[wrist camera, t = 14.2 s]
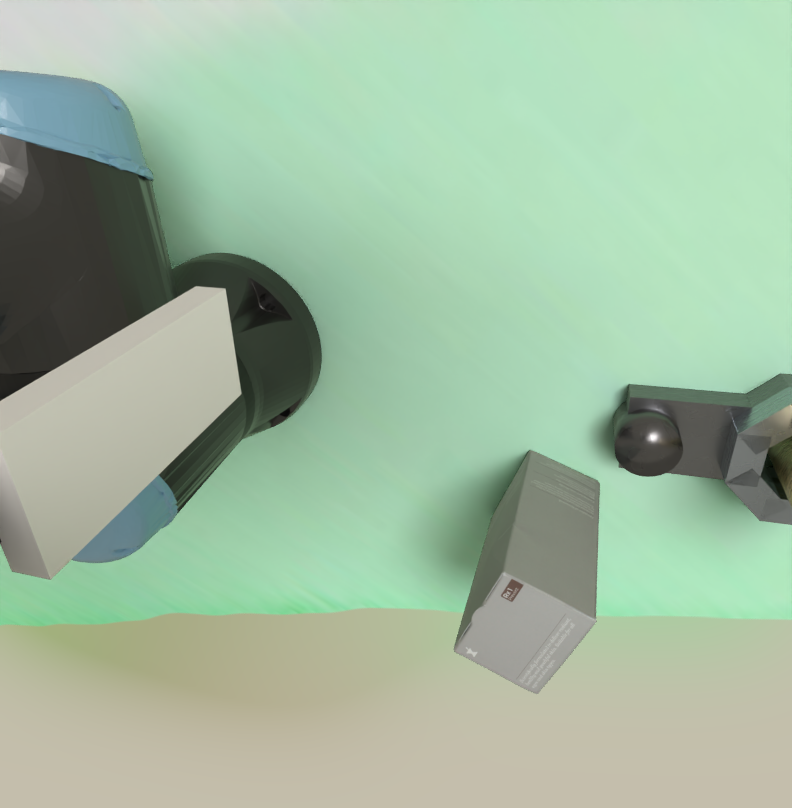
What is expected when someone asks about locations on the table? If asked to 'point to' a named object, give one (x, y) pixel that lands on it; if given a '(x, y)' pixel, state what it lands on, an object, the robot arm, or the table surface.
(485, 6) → the table surface
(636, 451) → the grey socket base
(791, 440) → the brass pin
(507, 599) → the skincare box
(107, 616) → the table surface
